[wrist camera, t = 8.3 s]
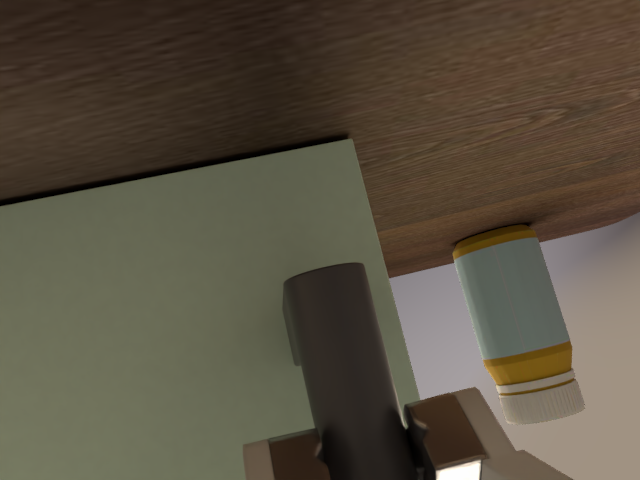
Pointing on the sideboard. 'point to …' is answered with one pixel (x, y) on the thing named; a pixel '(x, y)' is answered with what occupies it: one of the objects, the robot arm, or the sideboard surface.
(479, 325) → the bottle
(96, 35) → the sideboard surface
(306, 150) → the fridge door
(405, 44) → the sideboard surface
